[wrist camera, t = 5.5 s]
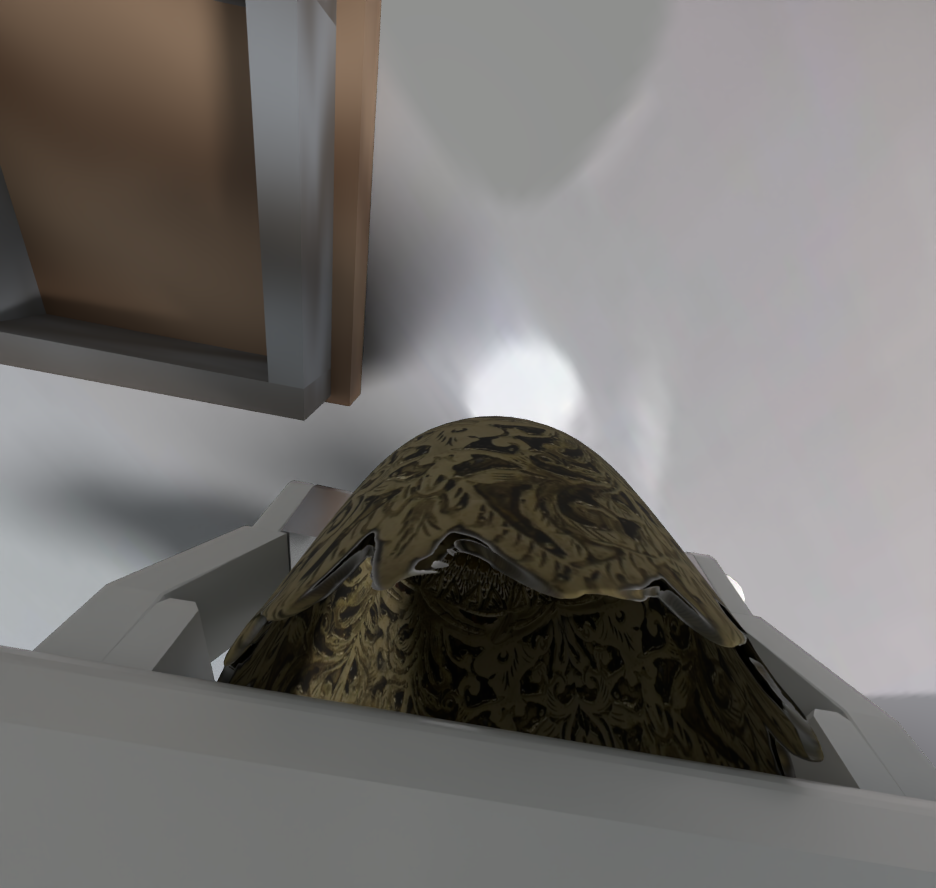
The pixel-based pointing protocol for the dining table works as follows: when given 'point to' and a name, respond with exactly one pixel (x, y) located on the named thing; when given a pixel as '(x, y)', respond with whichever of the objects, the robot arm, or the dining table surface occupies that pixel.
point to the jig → (189, 195)
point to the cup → (520, 608)
